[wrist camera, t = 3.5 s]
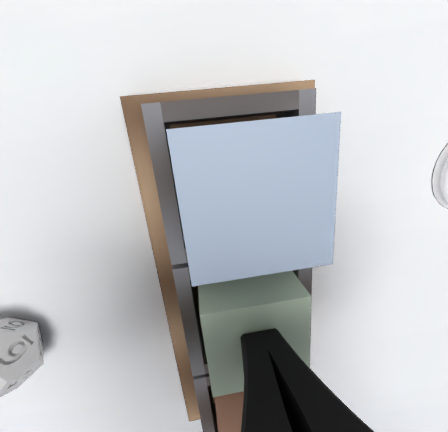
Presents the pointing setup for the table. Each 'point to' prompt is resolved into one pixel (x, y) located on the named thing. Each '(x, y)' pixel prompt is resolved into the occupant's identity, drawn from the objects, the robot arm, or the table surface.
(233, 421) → the peach matte cube
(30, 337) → the game die
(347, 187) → the table surface
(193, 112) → the board
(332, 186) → the block
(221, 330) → the pale green cube
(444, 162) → the chess piece
